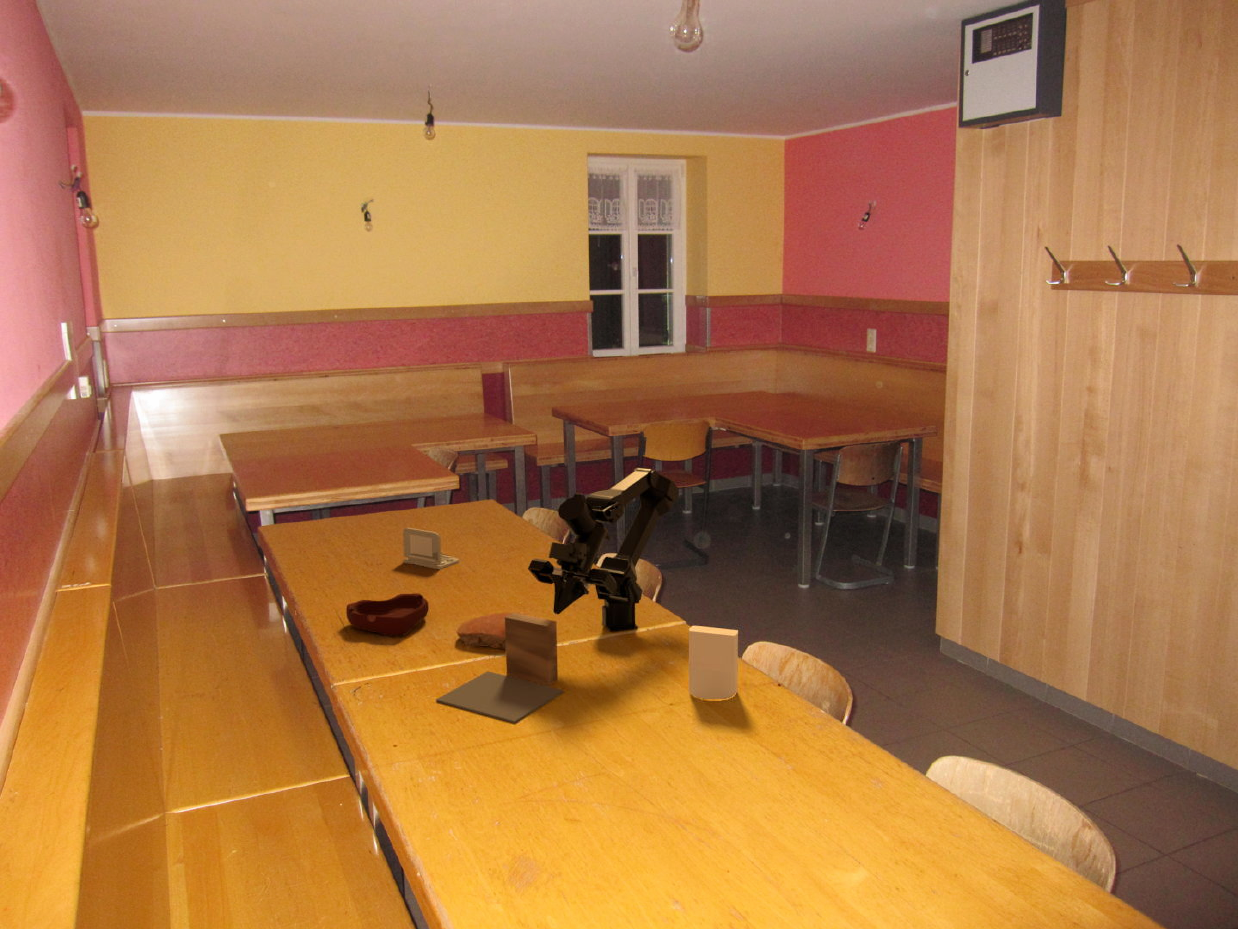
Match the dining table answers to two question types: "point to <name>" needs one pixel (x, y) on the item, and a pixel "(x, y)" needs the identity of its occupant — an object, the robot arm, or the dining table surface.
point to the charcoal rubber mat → (500, 696)
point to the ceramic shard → (485, 631)
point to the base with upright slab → (713, 662)
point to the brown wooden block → (531, 649)
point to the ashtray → (388, 614)
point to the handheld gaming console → (425, 549)
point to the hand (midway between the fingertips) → (555, 613)
